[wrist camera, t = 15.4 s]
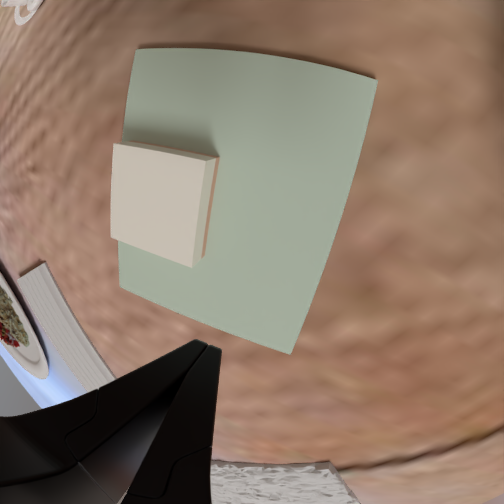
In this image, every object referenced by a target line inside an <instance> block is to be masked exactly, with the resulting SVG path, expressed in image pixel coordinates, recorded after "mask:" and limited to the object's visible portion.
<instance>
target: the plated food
mask: <svg viewBox="0 0 504 504" xmlns="http://www.w3.org/2000/svg"><path fill="white" fill-rule="evenodd" d="M0 342H1V343H2V344H3V346H4V347H5V348H6V350H7V351H8V352H9V353H10V354H11V356H12V357H13V358H14V359H15V360H16V361H17V362H18V363H19V364H20V365H21V366H22V367H23V368H24V369H25V370H26V371H28V372H29V373H30V374H32V375H33V376H35V377H37V378H39V379H46V378H47V376H48V375H49V368H48V363H47V360H46V357H45V355H44V352H43V349H42V347H41V345H40V343H39V341H38V338H37V336H36V334H35V332H34V330H33V328H32V326H31V324H30V322H29V320H28V318H27V316H26V314H25V312H24V310H23V309H22V307H21V305H20V303H19V301H18V300H17V298H16V296H15V294H14V293H13V291H12V289H11V288H10V286H9V285H8V283H7V281H6V280H5V279H4V277H3V275H2V274H1V272H0Z"/></svg>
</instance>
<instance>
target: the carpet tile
mask: <svg viewBox="0 0 504 504" xmlns="http://www.w3.org/2000/svg"><path fill="white" fill-rule="evenodd" d="M210 480H211V498H212V504H361V503H360V502H359V501H358V499H357V497H356V496H355V495H354V493H353V492H352V491H351V490H350V489H349V487H348V486H347V485H346V483H345V482H344V480H343V479H342V478H341V476H340V475H339V473H338V472H337V470H336V469H335V467H334V466H333V465H332V463H331V462H324V463H302V464H254V463H233V462H223V461H212V460H211V474H210Z"/></svg>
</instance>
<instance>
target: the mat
mask: <svg viewBox="0 0 504 504" xmlns="http://www.w3.org/2000/svg"><path fill="white" fill-rule="evenodd" d="M377 83H378V80H375V79H372V78H369V77H366V76H362V75H359V74H355V73H352V72H348V71H345V70H341V69H337V68H333V67H329V66H325V65H320V64H316V63H311V62H307V61H302V60H296V59H291V58H285V57H279V56H273V55H266V54H259V53H251V52H241V51H231V50H218V49H199V48H152V49H136V52H135V57H134V62H133V67H132V72H131V78H130V84H129V90H128V97H127V104H126V111H125V119H124V127H123V137H122V142H125V141H131V140H134V141H140V142H146V143H152V144H158V145H163V146H169V147H174V148H179V149H184V150H189V151H194V152H199V153H204V154H208V155H213V156H218V157H220V159H219V165H218V171H217V177H216V183H215V189H214V196H213V202H212V208H211V215H210V222H209V229H208V235H207V243H206V250H205V256H204V257H203V258H202V259H200V260H199V261H198V262H197V263H196V264H195V265H194V266H193V267H192V268H191V267H188V266H185V265H182V264H180V263H177V262H174V261H172V260H169V259H166V258H163V257H161V256H158V255H155V254H153V253H150V252H147V251H145V250H142V249H140V248H137V247H134V246H132V245H129V244H127V243H124V242H121V241H119V240H118V258H119V281H120V287H121V288H123V289H125V290H127V291H130V292H132V293H134V294H136V295H138V296H141V297H143V298H145V299H147V300H149V301H152V302H154V303H156V304H158V305H161V306H163V307H165V308H168V309H170V310H172V311H175V312H177V313H180V314H182V315H184V316H187V317H189V318H192V319H194V320H197V321H199V322H202V323H204V324H207V325H209V326H212V327H214V328H217V329H219V330H222V331H225V332H227V333H230V334H233V335H235V336H238V337H241V338H244V339H246V340H249V341H252V342H255V343H258V344H260V345H263V346H266V347H269V348H272V349H275V350H278V351H281V352H284V353H287V354H290V355H291V352H292V350H293V348H294V345H295V343H296V340H297V338H298V335H299V333H300V330H301V328H302V325H303V323H304V320H305V318H306V315H307V313H308V310H309V307H310V305H311V302H312V300H313V297H314V294H315V292H316V289H317V286H318V283H319V281H320V278H321V275H322V272H323V270H324V267H325V264H326V261H327V258H328V255H329V253H330V250H331V247H332V244H333V241H334V238H335V235H336V232H337V229H338V226H339V223H340V219H341V216H342V213H343V210H344V207H345V204H346V200H347V197H348V194H349V191H350V187H351V184H352V180H353V177H354V174H355V170H356V167H357V163H358V159H359V156H360V152H361V148H362V145H363V141H364V137H365V133H366V129H367V125H368V121H369V117H370V113H371V109H372V105H373V101H374V96H375V92H376V88H377Z"/></svg>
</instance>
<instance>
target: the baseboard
mask: <svg viewBox="0 0 504 504" xmlns="http://www.w3.org/2000/svg"><path fill="white" fill-rule="evenodd" d="M17 282H18V284H19V286H20V288H21V290H22V292H23V294H24V295H25V297H26V299H27V301H28V303H29V305H30V307H31V308H32V310H33V312H34V314H35V315H36V317H37V319H38V321H39V322H40V324H41V326H42V327H43V329H44V331H45V332H46V334H47V335H48V337H49V339H50V340H51V342H52V343H53V345H54V346H55V348H56V349H57V351H58V352H59V354H60V355H61V357H62V358H63V360H64V361H65V362H66V364H67V365H68V367H69V368H70V369H71V371H72V372H73V374H74V375H75V376H76V378H77V379H78V380H79V382H80V383H81V384H82V385H83V387H84V388H85V389H86V391H87V392H90V391H92V390H95V389H98V390H99V387H101V386H103V385H105V384H107V383H109V382H112V381H114V380H116V379H117V378H116V376H115V375H114V374H113V372H112V371H111V370H110V368H109V367H108V365H107V364H106V363H105V361H104V360H103V358H102V357H101V355H100V354H99V353H98V351H97V350H96V348H95V347H94V345H93V344H92V342H91V341H90V339H89V337H88V336H87V334H86V333H85V331H84V330H83V328H82V326H81V325H80V323H79V321H78V320H77V318H76V316H75V315H74V313H73V311H72V310H71V308H70V306H69V304H68V303H67V301H66V299H65V297H64V296H63V294H62V292H61V290H60V288H59V286H58V284H57V282H56V281H55V279H54V277H53V275H52V273H51V271H50V269H49V267H48V265H47V262H45V263H43V264H41V265H40V266H38V267H37V268H35V269H33V270H32V271H30V272H29V273H27V274H26V275H24V276H22V277H21V278H19V279H18V280H17Z"/></svg>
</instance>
